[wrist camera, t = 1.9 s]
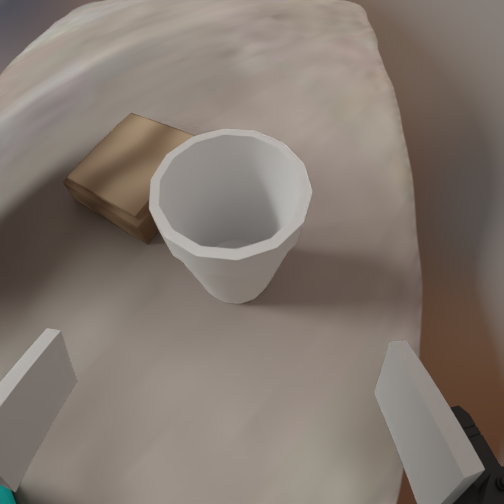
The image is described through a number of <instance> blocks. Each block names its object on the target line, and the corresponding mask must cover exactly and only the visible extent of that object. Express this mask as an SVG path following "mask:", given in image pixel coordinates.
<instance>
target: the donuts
mask: <svg viewBox="0 0 504 504" xmlns="http://www.w3.org/2000/svg"><path fill="white" fill-rule="evenodd" d="M0 504H16V502H15V499H14V496H13V494H12V492H11V490H10V489H8V488H6V487H4V486H2V485H0Z"/></svg>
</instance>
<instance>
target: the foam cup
mask: <svg viewBox="0 0 504 504" xmlns="http://www.w3.org/2000/svg"><path fill="white" fill-rule="evenodd" d="M311 196H312V189H311V185H310V181H309V178H308V174H307V171H306V168H305V164H304V163H303V162H302V161H301V160H300V159H299V158H298V157H297V156H296V155H295V154H294V153H293V152H292V151H291V150H290V149H289V148H288V147H287V146H286V145H285V144H284V143H283V142H280V141H278V140H276V139H273V138H271V137H269V136H266V135H264V134H262V133H259V132H257V131H251V130H236V129H220V130H216V131H212V132H209V133H205V134H201V135H197V136H194V137H191V138H190V139H188V140H187V141H185V142H184V143H182V144H181V145H179V146H178V147H177V148H175V149H174V150H172V151H171V152H169V153H168V154H167V155H166V156H165V158H164V159H163V161H162V162H161V164H160V165H159V167H158V169H157V170H156V172H155V173H154V175H153V177H152V178H151V182H150V197H149V210H150V212H151V215H152V217H153V219H154V221H155V223H156V225H157V228H158V230H159V231H160V233H161V235H162V237H163V239H164V240H165V242H166V244H167V246H168V248H169V249H170V251H171V253H172V255H173V256H174V257H176V258H178V259H179V260H181V261H182V262H183V263H184V264H185V265H186V267H187V268H188V269H189V270H190V271H191V272H192V274H193V275H194V276H195V277H196V278H197V279H198V281H199V282H200V283H201V284H202V285H203V286H204V288H205V289H206V290H207V291H208V292H209V293H210V294H211V295H212V296H214V297H216V298H217V299H219V300H221V301H222V302H224V303H233V304H242V303H245V302H248V301H250V300H253V299H255V298H256V297H257V296H258V295H259V294H260V293H261V292H262V291H263V290H264V289H265V288H266V287H267V286H268V284H269V282H270V281H271V279H272V277H273V276H274V274H275V273H276V271H277V269H278V268H279V266H280V264H281V263H282V261H283V260H284V258H285V256H286V255H287V253H288V251H289V250H290V249H291V248H293V247H294V246H295V245H296V244H297V243H298V240H299V237H300V233H301V230H302V227H303V223H304V220H305V217H306V213H307V210H308V206H309V203H310V199H311Z"/></svg>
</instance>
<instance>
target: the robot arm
mask: <svg viewBox="0 0 504 504" xmlns="http://www.w3.org/2000/svg"><path fill="white" fill-rule="evenodd" d="M77 381H78V380H77V378H76V375H75V372H74V370H73V367H72V364H71V361H70V358H69V355H68V352H67V349H66V346H65V343H64V339H63V336H62V333H61V330H54V329H48V328H47V329H46V330H45V331H44V332H43V333H42V334H41V336H40V337H39V338H38V339H37V340H36V341H35V342H34V343H33V344H32V346H31V347H30V348H29V349H28V350H27V351H26V352H25V354H24V355H23V356H22V357H21V358H20V359H19V361H18V362H17V363H16V364H15V365H14V366H13V368H12V369H11V370H10V371H9V372H8V374H7V375H6V376H5V377H4V378H3V380H2V381H1V382H0V485H2V486H4V487H6V488H8V489H10V490H12V491H14V492H16V491H17V489H18V487H19V485H20V483H21V481H22V479H23V477H24V475H25V473H26V471H27V469H28V467H29V465H30V463H31V461H32V459H33V457H34V456H35V454H36V452H37V450H38V448H39V446H40V444H41V443H42V441H43V439H44V437H45V435H46V434H47V432H48V430H49V428H50V426H51V425H52V423H53V421H54V419H55V418H56V416H57V414H58V413H59V411H60V409H61V407H62V406H63V404H64V402H65V401H66V399H67V397H68V396H69V394H70V392H71V391H72V389H73V387H74V386H75V384H76V383H77ZM374 394H375V397H376V399H377V401H378V404H379V406H380V409H381V411H382V413H383V416H384V418H385V421H386V423H387V426H388V428H389V431H390V433H391V436H392V438H393V441H394V443H395V446H396V448H397V451H398V453H399V456H400V458H401V461H402V464H403V466H404V469H405V472H406V474H407V476H408V480H409V482H410V485H411V488H412V490H413V493H414V496H415V499H416V501H417V504H504V467H501V466H500V464H499V463H498V461H497V459H496V458H495V456H494V454H493V453H492V451H491V449H490V448H489V446H488V444H487V442H486V441H485V439H484V437H483V436H482V435H481V434H480V431H479V429H478V428H477V427H476V426H475V423H474V421H473V420H472V418H471V416H470V415H469V414H468V413H467V412H466V411H465V410H463V409H462V408H461V407H460V406H455V407H451V408H450V407H449V405H448V404H447V402H446V401H445V399H444V397H443V396H442V394H441V393H440V391H439V389H438V388H437V386H436V385H435V383H434V381H433V380H432V378H431V377H430V375H429V374H428V372H427V371H426V369H425V368H424V366H423V364H422V363H421V361H420V360H419V358H418V357H417V355H416V354H415V352H414V351H413V349H412V348H411V346H410V345H409V344H408V342H407V341H406V340H402V341H390V342H389V345H388V348H387V352H386V355H385V359H384V362H383V366H382V369H381V372H380V375H379V378H378V381H377V385H376V388H375V391H374Z"/></svg>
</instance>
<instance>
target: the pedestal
mask: <svg viewBox="0 0 504 504" xmlns="http://www.w3.org/2000/svg"><path fill="white" fill-rule="evenodd" d="M194 136H195V135H192V134H190V133H187V132H184V131H181V130H179V129H176V128H173V127H170V126H168V125H165V124H162V123H159V122H156V121H153V120H151V119H148V118H145V117H142V116H139V115H136V114H133V113H131V114H129V115H128V116H127V117H126V118H125V119H124V120H123V121H121V122H120V123H119V124H118V125H117V126H116V127H115V128H114V129H113V130H112V131H111V132H110V133H109V134H108V135H107V136H106V137H105V138H104V139H103V140H102V141H101V142H100V143H99V144H98V145H97V146H96V147H95V148H94V149H93V150H92V151H91V152H90V153H89V154H88V155H87V156H86V157H85V158H84V159H83V160H82V161H81V162H80V163H79V164H78V165H77V167H76V168H75V169H74V170H73V171H72V172H71V173H70V174H69V175H68V176H67V178H66V179H65V181H64V182H63V183H64V185H65V186H66V188H67V189H68V190H69V192H70V193H71V195H72V196H73V197H74V199H75V200H77V201H78V202H80V203H81V204H83V205H84V206H86V207H88V208H89V209H91V210H92V211H94V212H95V213H97V214H99V215H100V216H102V217H103V218H105V219H107V220H108V221H110V222H111V223H113V224H115V225H116V226H118V227H120V228H121V229H123V230H124V231H126V232H128V233H129V234H131V235H133V236H134V237H136V238H138V239H139V240H141V241H143V242H144V243H146V244H148V243H149V242H150V241H151V239H152V238H153V237H154V236H155V234H156V233H157V232H158V228H157V225H156V223H155V221H154V219H153V217H152V215H151V212H150V210H149V197H150V182H151V178H152V177H153V175H154V173H155V172H156V170H157V169H158V167H159V165H160V164H161V162H162V161H163V159H164V158H165V156H166V155H167V154H168V153H169V152H171V151H172V150H174V149H175V148H177V147H178V146H179V145H181V144H182V143H184V142H185V141H187V140H188V139H190V138H191V137H194Z"/></svg>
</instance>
